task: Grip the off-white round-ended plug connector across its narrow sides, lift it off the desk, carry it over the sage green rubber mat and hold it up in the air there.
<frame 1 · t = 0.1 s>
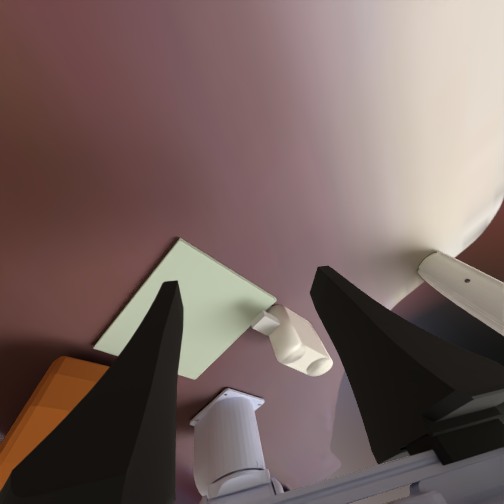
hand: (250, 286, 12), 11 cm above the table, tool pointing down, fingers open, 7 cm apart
rubber mat: (189, 320, 25), on the table
alarm clock: (74, 402, 28), on the table
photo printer: (439, 272, 31), on the table
connector: (288, 322, 29), on the table
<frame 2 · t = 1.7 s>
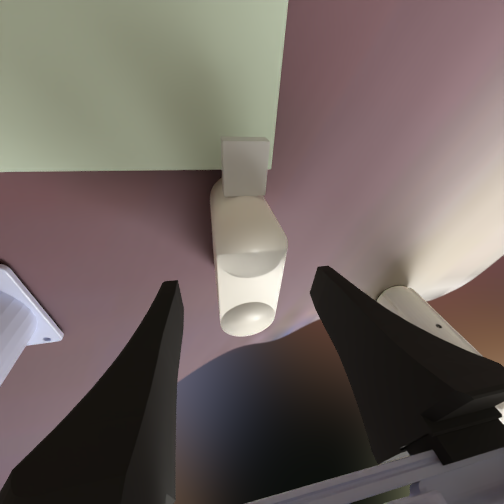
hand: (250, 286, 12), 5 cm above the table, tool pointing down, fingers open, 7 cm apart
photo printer: (380, 311, 27), on the table
connector: (235, 231, 16), on the table
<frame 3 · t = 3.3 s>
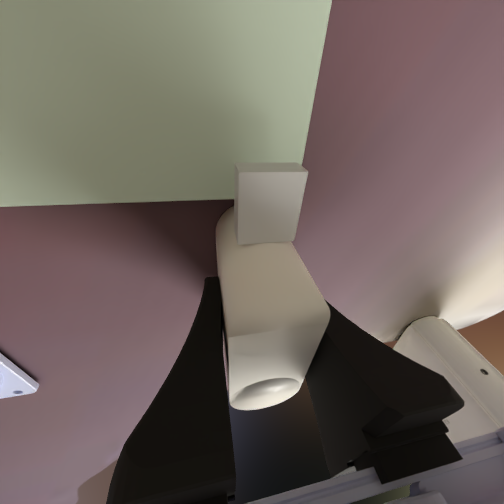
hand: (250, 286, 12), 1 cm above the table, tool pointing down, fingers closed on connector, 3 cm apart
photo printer: (405, 341, 24), on the table
connector: (246, 268, 13), on the table, touching gripper
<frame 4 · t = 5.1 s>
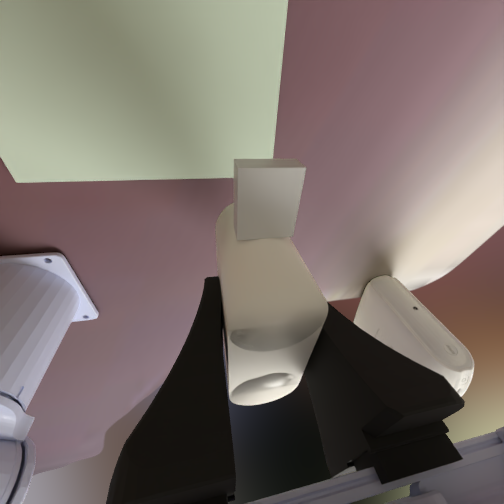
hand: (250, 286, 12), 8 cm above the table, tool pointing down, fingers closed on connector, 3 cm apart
rubber mat: (129, 49, 11), on the table
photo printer: (369, 299, 30), on the table
connector: (245, 265, 13), point 7 cm above the table, touching gripper
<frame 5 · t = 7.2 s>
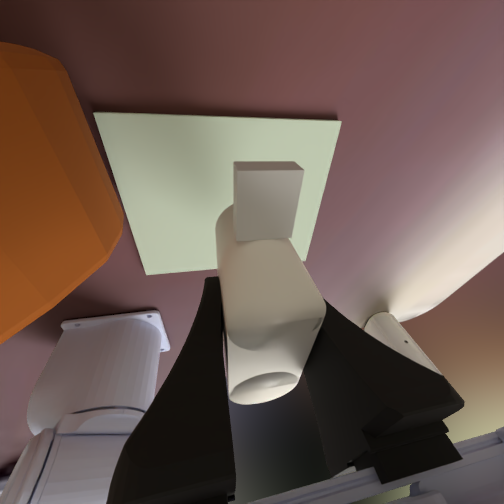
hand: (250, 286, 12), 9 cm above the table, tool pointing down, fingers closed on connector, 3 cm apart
rubber mat: (230, 205, 19), on the table
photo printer: (371, 328, 38), on the table
connector: (245, 266, 13), point 8 cm above the table, touching gripper
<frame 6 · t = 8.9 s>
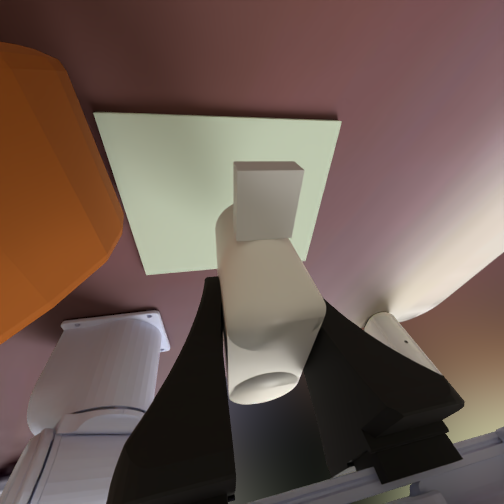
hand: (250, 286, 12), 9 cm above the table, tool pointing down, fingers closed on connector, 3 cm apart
rubber mat: (230, 205, 19), on the table
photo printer: (371, 328, 38), on the table
connector: (245, 266, 13), point 8 cm above the table, touching gripper
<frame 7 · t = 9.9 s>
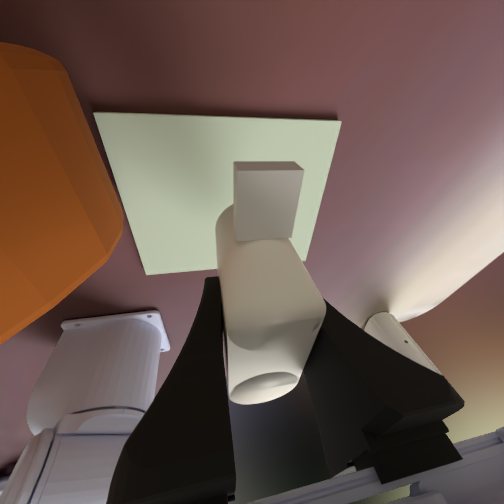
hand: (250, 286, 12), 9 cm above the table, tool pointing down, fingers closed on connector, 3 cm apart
rubber mat: (230, 205, 19), on the table
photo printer: (370, 328, 38), on the table
connector: (245, 266, 13), point 8 cm above the table, touching gripper
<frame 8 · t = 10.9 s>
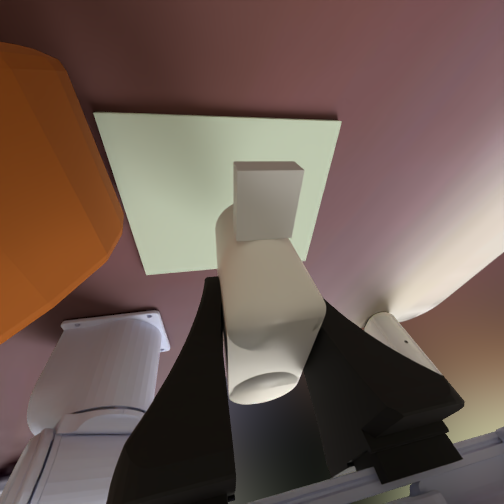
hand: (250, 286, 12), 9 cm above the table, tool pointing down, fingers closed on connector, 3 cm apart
rubber mat: (230, 205, 19), on the table
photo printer: (371, 328, 38), on the table
connector: (245, 266, 13), point 8 cm above the table, touching gripper
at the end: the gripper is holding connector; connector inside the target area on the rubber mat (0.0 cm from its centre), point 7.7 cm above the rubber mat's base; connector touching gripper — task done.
